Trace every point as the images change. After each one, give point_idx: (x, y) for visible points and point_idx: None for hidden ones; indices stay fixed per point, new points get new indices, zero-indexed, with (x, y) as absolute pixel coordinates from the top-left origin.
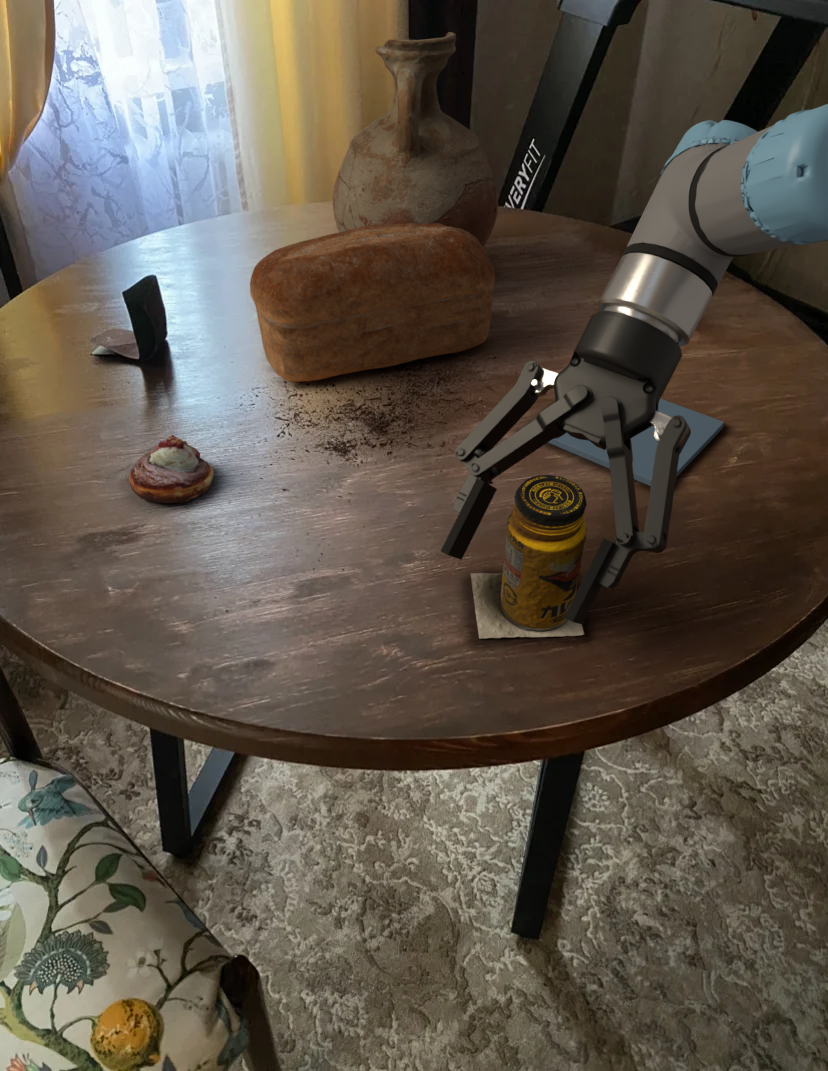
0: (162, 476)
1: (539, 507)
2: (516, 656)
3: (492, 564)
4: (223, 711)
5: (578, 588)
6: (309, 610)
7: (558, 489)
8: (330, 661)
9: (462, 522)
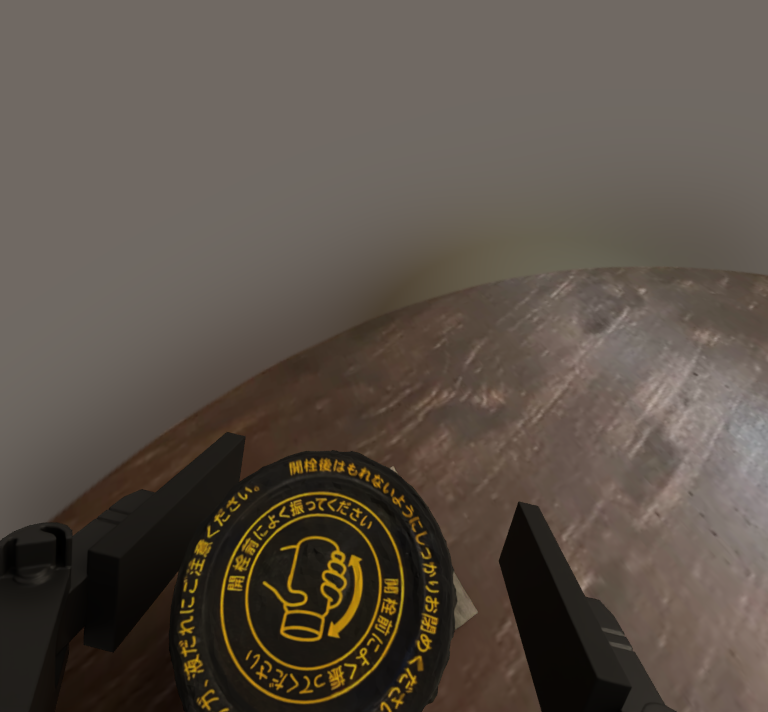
0: None
1: (337, 487)
2: None
3: (456, 679)
4: (575, 273)
5: (214, 467)
6: (623, 416)
7: (297, 649)
8: (538, 357)
9: (546, 555)
